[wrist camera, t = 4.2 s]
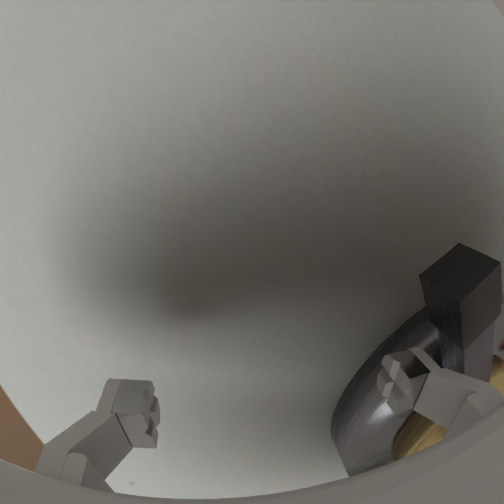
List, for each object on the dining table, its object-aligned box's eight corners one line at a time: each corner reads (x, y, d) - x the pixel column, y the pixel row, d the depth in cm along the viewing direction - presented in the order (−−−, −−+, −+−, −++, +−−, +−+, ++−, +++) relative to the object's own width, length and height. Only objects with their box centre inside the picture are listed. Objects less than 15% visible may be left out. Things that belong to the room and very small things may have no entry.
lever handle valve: (495, 400, 15) (521, 428, 11) (399, 474, 16) (420, 510, 12) (501, 195, 9) (574, 218, 5) (322, 332, 9) (377, 423, 5)
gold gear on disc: (510, 342, 18) (571, 394, 9) (395, 461, 20) (433, 529, 11) (464, 238, 13) (599, 308, 4) (281, 434, 16) (319, 566, 7)
